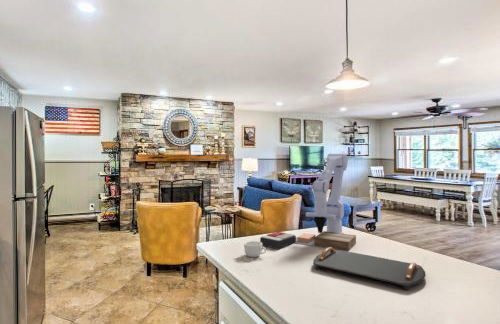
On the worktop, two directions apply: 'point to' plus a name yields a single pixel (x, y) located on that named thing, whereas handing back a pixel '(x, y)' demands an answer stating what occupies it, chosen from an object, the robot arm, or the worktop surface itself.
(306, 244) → the mat
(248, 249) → the teacup
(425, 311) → the worktop surface
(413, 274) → the serving board
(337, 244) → the brown flat block
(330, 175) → the robot arm
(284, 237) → the calculator
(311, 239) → the peach upright slab
